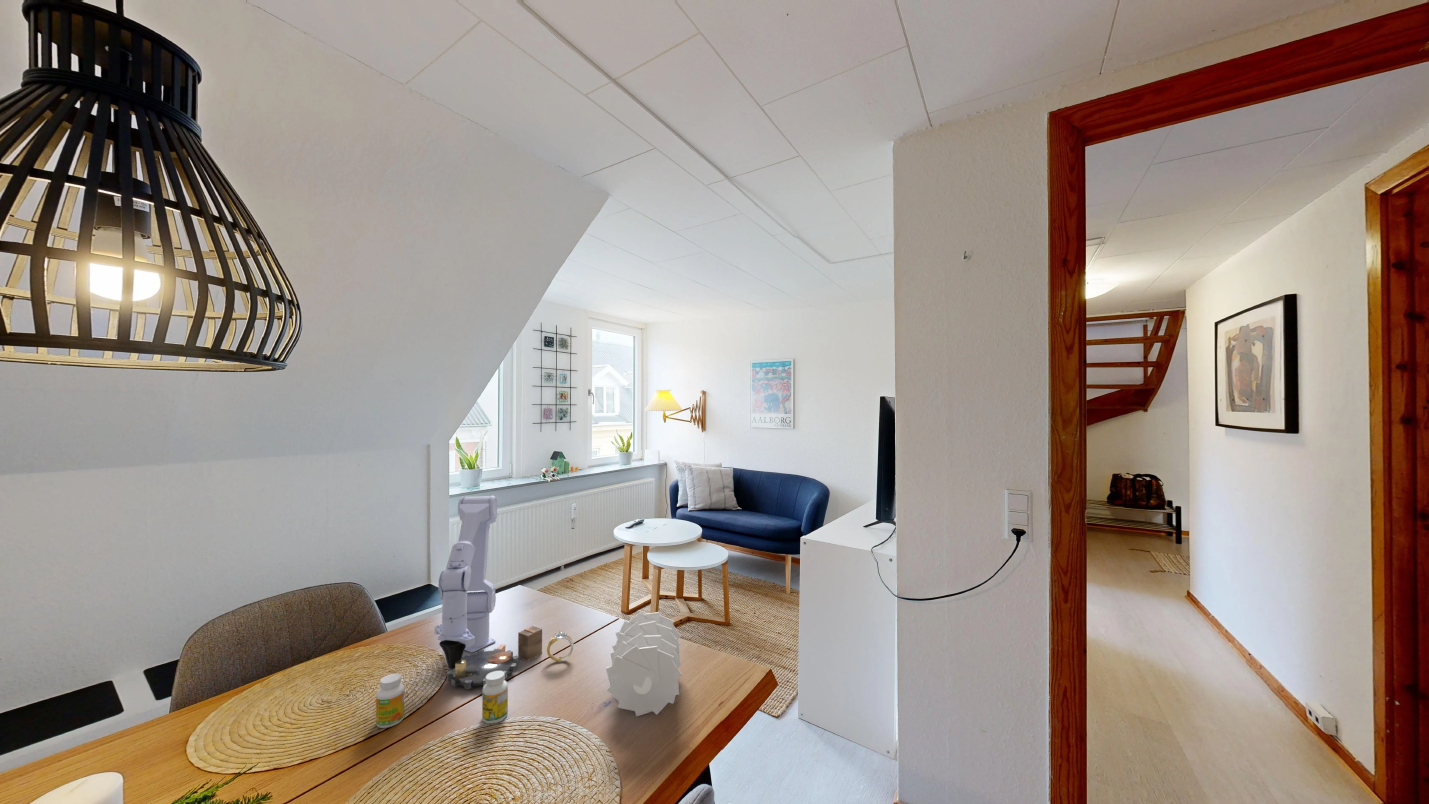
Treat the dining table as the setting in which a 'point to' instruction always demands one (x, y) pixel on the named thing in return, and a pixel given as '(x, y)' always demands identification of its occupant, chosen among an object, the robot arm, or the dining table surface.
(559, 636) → the ring
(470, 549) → the robot arm
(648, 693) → the white spiral plate stack
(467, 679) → the sprocket
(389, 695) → the supplement bottle
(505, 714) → the supplement bottle
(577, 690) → the dining table surface
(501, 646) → the peach rectangular prism
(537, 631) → the wooden block
